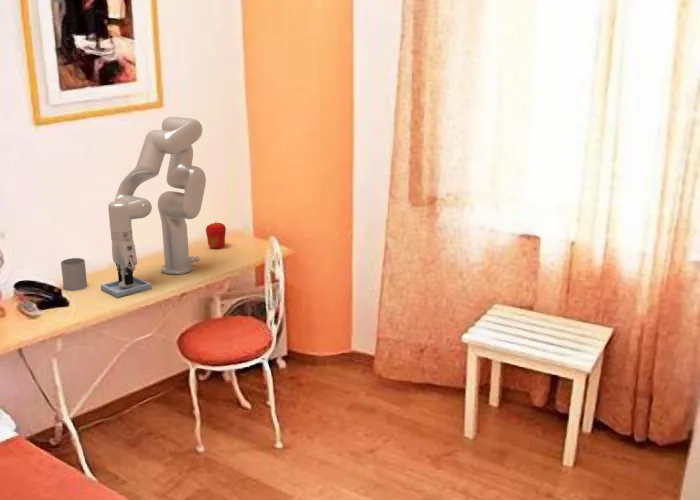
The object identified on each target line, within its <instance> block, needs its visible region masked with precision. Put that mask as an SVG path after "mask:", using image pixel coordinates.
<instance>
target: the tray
mask: <svg viewBox="0 0 700 500" xmlns="http://www.w3.org/2000/svg"><path fill="white" fill-rule="evenodd" d="M133 282H134V284H133V285H132V286H131V287H120V286H119V283H120V282H119V279H117V280H114V281H110V282H108V283H107V282H106V283H103V284H100V291H102V292H104V293H106V294H108V295H109V296H110V295H111V296H112V297H114V298H116V299H119V298H122V297H126V296H131V295H133V294H137V293H141V291H142V292H144V291H148V290H151V289H153V288H152V283H150V282H148V281H146V280H144V279H142V278H139V277H137V276H134V275H133Z"/></svg>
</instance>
